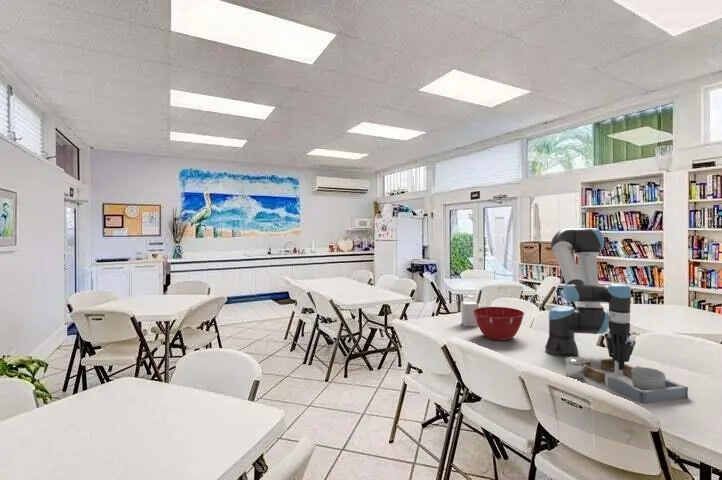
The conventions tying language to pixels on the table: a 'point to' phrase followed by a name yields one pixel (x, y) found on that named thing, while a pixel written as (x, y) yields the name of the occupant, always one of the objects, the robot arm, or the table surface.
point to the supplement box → (469, 313)
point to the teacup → (647, 378)
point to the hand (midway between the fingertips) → (618, 376)
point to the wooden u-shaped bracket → (605, 364)
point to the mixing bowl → (498, 322)
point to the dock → (650, 391)
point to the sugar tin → (575, 368)
